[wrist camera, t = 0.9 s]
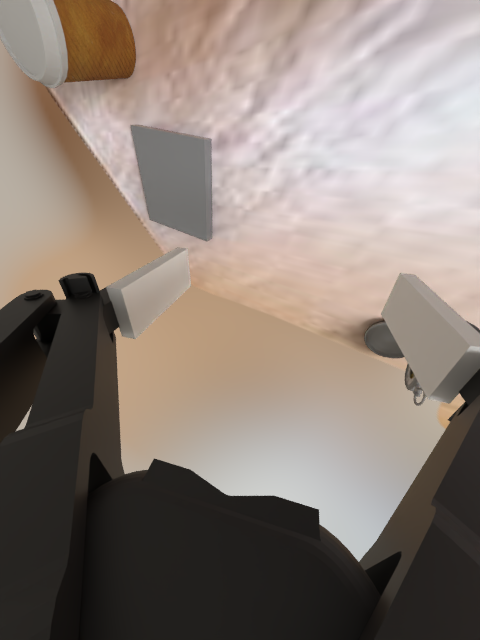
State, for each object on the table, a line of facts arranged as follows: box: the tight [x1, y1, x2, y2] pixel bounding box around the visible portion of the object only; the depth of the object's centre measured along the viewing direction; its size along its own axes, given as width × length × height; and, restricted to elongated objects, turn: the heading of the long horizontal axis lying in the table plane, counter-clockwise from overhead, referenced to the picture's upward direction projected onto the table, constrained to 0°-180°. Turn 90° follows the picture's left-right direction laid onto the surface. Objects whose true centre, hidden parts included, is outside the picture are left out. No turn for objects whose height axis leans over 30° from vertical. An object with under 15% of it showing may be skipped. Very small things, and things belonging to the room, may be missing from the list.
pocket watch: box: [364, 321, 426, 406], centre depth 29 cm, size 8×8×10 cm
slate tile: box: [131, 125, 212, 241], centre depth 37 cm, size 14×14×2 cm
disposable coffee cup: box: [0, 0, 136, 88], centre depth 25 cm, size 10×10×12 cm
